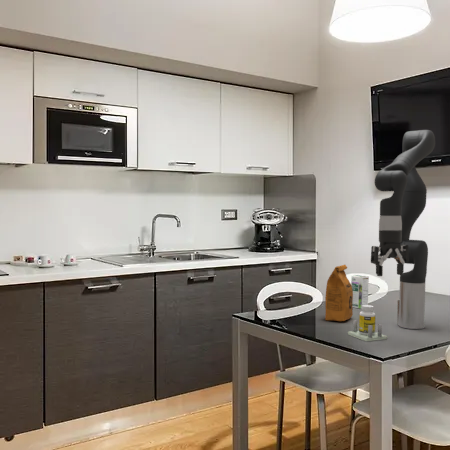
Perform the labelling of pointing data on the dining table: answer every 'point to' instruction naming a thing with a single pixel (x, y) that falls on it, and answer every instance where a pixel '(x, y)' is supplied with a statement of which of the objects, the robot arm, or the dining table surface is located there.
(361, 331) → the supplement bottle
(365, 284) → the syrup box
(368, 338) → the peg board
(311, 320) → the dining table surface
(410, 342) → the dining table surface
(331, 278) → the coffee package
